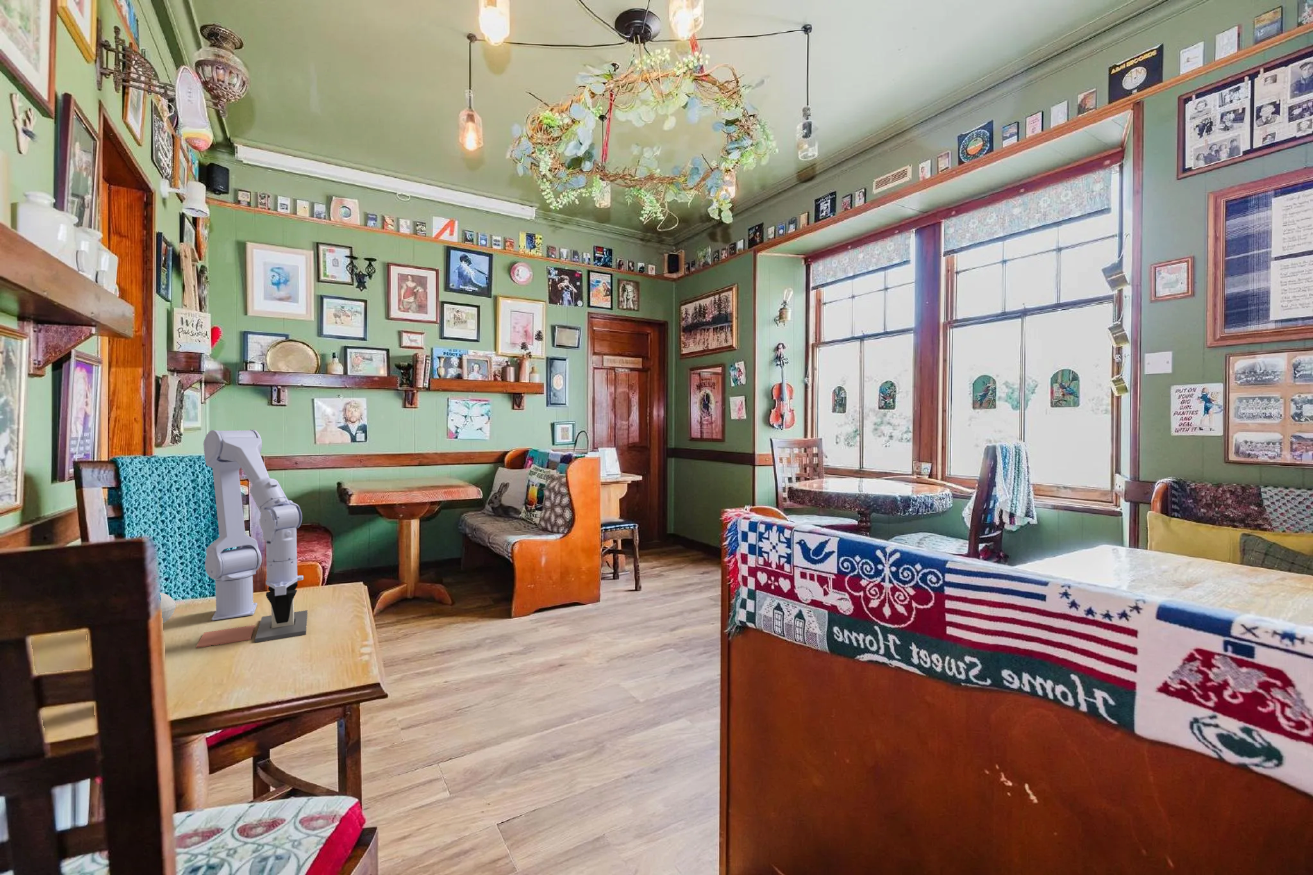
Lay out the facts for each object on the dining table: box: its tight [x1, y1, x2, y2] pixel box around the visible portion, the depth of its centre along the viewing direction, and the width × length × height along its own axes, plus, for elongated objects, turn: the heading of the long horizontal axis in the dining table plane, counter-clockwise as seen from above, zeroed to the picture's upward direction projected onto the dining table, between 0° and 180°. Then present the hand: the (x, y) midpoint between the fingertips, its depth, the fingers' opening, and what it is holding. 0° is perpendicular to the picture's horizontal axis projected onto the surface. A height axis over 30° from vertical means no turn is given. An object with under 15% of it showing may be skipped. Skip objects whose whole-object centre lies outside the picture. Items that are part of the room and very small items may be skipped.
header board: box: [254, 609, 308, 643], centre depth 128 cm, size 16×9×1 cm, turn 30°
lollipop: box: [159, 592, 177, 624], centre depth 103 cm, size 6×6×15 cm
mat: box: [195, 624, 256, 649], centre depth 122 cm, size 9×9×1 cm
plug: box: [270, 597, 295, 628], centre depth 128 cm, size 4×4×6 cm
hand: (283, 619), depth 128 cm, fingers closed on plug, 4 cm apart
